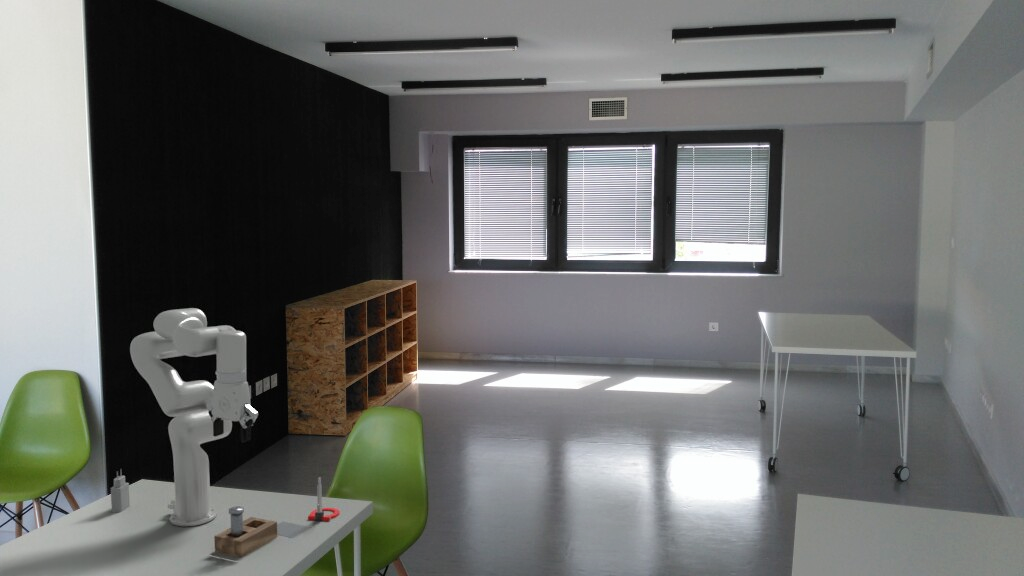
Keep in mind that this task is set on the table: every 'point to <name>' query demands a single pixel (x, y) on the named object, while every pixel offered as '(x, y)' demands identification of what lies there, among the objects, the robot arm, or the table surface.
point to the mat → (290, 529)
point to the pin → (236, 521)
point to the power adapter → (120, 494)
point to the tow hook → (318, 513)
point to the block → (246, 537)
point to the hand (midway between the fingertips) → (232, 438)
